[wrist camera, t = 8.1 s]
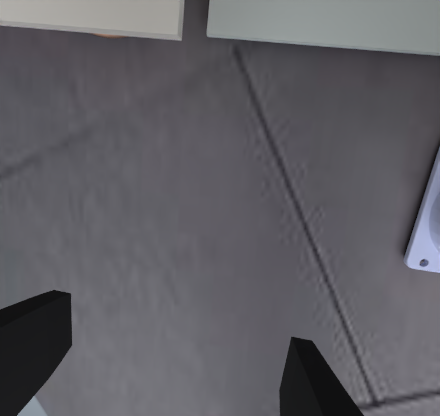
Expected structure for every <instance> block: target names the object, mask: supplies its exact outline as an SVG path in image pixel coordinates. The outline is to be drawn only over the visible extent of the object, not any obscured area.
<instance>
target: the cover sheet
mask: <svg viewBox="0 0 440 416" xmlns="http://www.w3.org/2000/svg"><path fill="white" fill-rule="evenodd" d="M184 1H185V0H0V25H2V26H14V27H26V28H38V29H49V30H61V31H73V32H85V33H97V34H108V35H120V36H132V37H144V38H156V39H168V40H179V41H182V29H183V15H184Z"/></svg>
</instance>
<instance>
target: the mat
mask: <svg viewBox="0 0 440 416" xmlns="http://www.w3.org/2000/svg"><path fill="white" fill-rule="evenodd" d="M207 36H208V37H215V38H228V39H240V40H252V41H264V42H277V43H289V44H301V45H313V46H325V47H338V48H350V49H362V50H374V51H386V52H399V53H411V54H423V55H435V56H440V0H210V2H209V13H208V24H207Z"/></svg>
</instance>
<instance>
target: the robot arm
mask: <svg viewBox="0 0 440 416" xmlns="http://www.w3.org/2000/svg"><path fill="white" fill-rule="evenodd" d="M422 259H425V261H424V263H422V264H419V262H420V261H421V260H422ZM404 262H405V264H406V265H407V266H408V267H410V268H413V269H419V270H425V271H431V272H438V273H440V147H439V150H438V153H437V156H436V159H435V163H434V166H433V169H432V172H431V175H430V178H429V181H428V185H427V188H426V191H425V194H424V197H423V200H422V203H421V207H420V210H419V213H418V216H417V219H416V222H415V225H414V229H413V232H412V235H411V238H410V241H409V244H408V247H407V251H406V254H405V257H404ZM71 346H72V323H71V293H66V292H61V291H56V290H53V291H49V292H46V293H43V294H40V295H37V296H35V297H32V298H29V299H27V300H24V301H21V302H19V303H16V304H13V305H11V306H8V307H6V308H3V309H1V310H0V416H17V415H18V413H19V412H20V411H21V410H22V409H23V408H24V407H25V406H26V404H27V403H28V402H29V401H30V400H31V399H32V397H33V396H34V395H35V394H36V393H37V392H38V390H39V389H40V388H41V387H42V386H43V385H44V383H45V382H46V381H47V380H48V379H49V377H50V376H51V375H52V373H53V372H54V371H55V369H56V368H57V366H58V365H59V364H60V362H61V361H62V359H63V358H64V356H65V355H66V353H67V352H68V350H69V349H70V347H71ZM279 391H280V416H364V415H363V414H362V413H361V411H360V410H359V408H358V407H357V406H356V404H355V403H354V401H353V400H352V399H351V397H350V396H349V394H348V393H347V392H346V390H345V389H344V387H343V386H342V384H341V383H340V381H339V380H338V378H337V377H336V375H335V374H334V373H333V371H332V370H331V368H330V367H329V365H328V364H327V362H326V361H325V359H324V358H323V356H322V355H321V353H320V352H319V350H318V349H317V347H316V346H315V344H314V343H313V341H311V340H306V339H301V338H295V337H291V341H290V346H289V350H288V355H287V359H286V364H285V368H284V372H283V377H282V381H281V386H280V390H279Z"/></svg>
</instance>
